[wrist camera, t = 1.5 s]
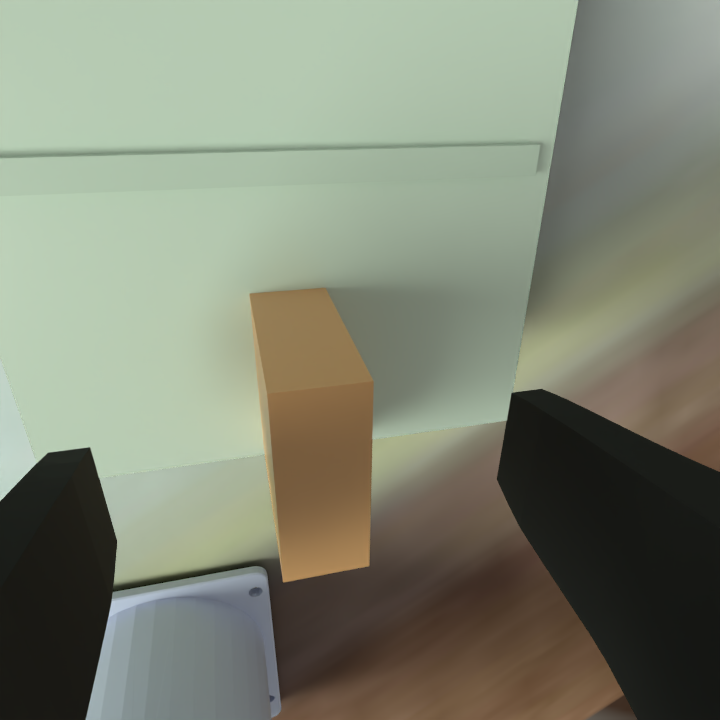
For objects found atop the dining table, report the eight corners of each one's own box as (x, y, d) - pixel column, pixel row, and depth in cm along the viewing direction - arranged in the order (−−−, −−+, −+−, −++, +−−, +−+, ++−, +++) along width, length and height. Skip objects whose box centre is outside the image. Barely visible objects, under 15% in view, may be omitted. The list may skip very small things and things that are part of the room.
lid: (482, 389, 16) (598, 528, 11) (60, 443, 14) (-18, 648, 9) (570, -256, 10) (923, -564, 5) (-194, -370, 7) (-968, -1200, 2)
